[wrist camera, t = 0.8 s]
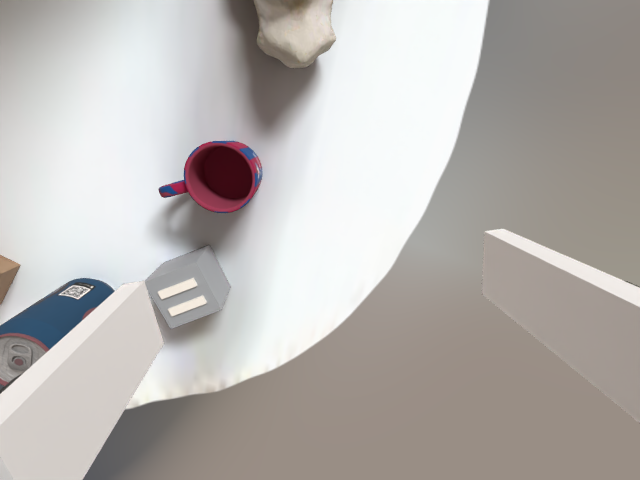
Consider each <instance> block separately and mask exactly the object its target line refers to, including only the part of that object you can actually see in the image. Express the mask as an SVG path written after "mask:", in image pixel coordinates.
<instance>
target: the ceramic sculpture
mask: <svg viewBox="0 0 640 480" xmlns="http://www.w3.org/2000/svg"><path fill="white" fill-rule="evenodd" d="M332 3H333V0H254V6H255V7H256V10H257V15H258V18H259V32H258V37H257V44H258V46H259V47H260V48H261V49H262V51H263V52H264V53H265V54H267V55H269V56H272V57H274V58H277V59H279V60H280V61H281V62H282V63H283V64H284V65H286V66H287V67H289V68H298V67H300V68H304V67H308V66H309V65H311V64H312V63H313V62H314V60H315V59H316V58H317V57H318V56H319V55H321V54H323V53H324V52H326V51H328V50H329V49H330V47H331V46H332V44H333V43H334V42H335V41H336V36H335V34H334V31H333V29H332V27H331V19H330V15H331V10H332Z"/></svg>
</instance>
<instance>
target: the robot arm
mask: <svg viewBox="0 0 640 480" xmlns="http://www.w3.org/2000/svg"><path fill="white" fill-rule="evenodd" d="M482 295H484V296H485V297H486V298H487V299H488V300H490V301H491V302H492V303H493V304H495V305H496V306H497V307H498V308H499V309H501V310H502V311H503V312H504V313H506V314H507V315H508V316H509V317H510V318H512V319H513V320H514V321H515V322H517V323H518V324H519V325H520V326H521V327H523V328H524V329H525V330H526V331H528V332H529V333H530V334H531V335H532V336H534V337H535V338H536V339H537V340H539V341H540V342H541V343H542V344H543V345H545V346H546V347H547V348H548V349H550V350H551V351H552V352H553V353H555V354H556V355H557V356H558V357H559V358H561V359H562V360H563V361H564V362H565V363H567V364H568V365H569V366H570V367H572V368H573V369H574V370H575V371H576V372H578V373H579V374H580V375H582V376H583V377H584V378H585V379H586V380H587V381H589V382H590V383H591V384H592V385H594V386H595V387H596V388H597V389H598V390H600V391H601V392H602V393H603V394H605V395H606V396H607V397H608V398H609V399H611V400H612V401H613V402H615V403H616V404H617V405H618V406H619V407H620V408H622V409H623V410H624V411H625V412H627V413H628V414H629V415H630V416H632V417H633V418H634V419H635V420H636V421H638V422H639V423H640V287H639V286H637V285H634V284H632V283H630V282H627V281H623V280H620V279H618V278H616V277H614V276H611V275H609V274H607V273H604V272H602V271H600V270H598V269H595V268H593V267H590V266H588V265H586V264H584V263H581V262H579V261H577V260H574V259H572V258H570V257H567V256H565V255H562V254H561V253H558V252H556V251H554V250H551V249H549V248H546V247H544V246H542V245H540V244H537V243H535V242H533V241H530V240H528V239H526V238H523V237H521V236H519V235H517V234H514V233H512V232H510V231H507V230H505V229H498V230H491V231H485V232H484V256H483V279H482ZM163 344H164V342H163V338H162V335H161V332H160V329H159V326H158V323H157V319H156V316H155V313H154V310H153V307H152V304H151V300H150V297H149V294H148V291H147V288H146V285H145V282H144V281H140V282H133V283H126V284H123V285H121V286H120V287H119V288H118V289H117V290H116V291H115V292H114V293H113V294H111V295H110V296H109V297H108V298H107V299H106V300H105V301H104V302H102V303H101V304H100V305H99V306H98V307H97V308H96V309H95V310H94V311H92V312H91V313H90V314H89V315H88V316H87V317H86V318H85V319H83V320H82V321H81V322H80V323H79V324H78V325H77V326H76V327H75V328H73V329H72V330H71V331H70V332H69V333H68V334H67V335H66V336H64V337H63V338H62V339H61V340H60V341H59V342H58V343H57V344H56V345H54V346H53V347H52V348H51V349H50V350H49V351H48V352H47V353H46V354H44V355H43V356H42V357H41V358H40V359H39V360H38V361H37V362H35V363H34V364H33V365H32V366H31V367H30V368H29V369H28V370H26V371H25V372H23V373H22V374H20V375H19V376H17V377H15V378H14V379H12V380H11V381H10V382H9V383H8V384H7V385H5V386H4V387H3V388H2V389H1V390H0V480H82V479H83V478H84V476H85V475H86V473H87V471H88V469H89V468H90V466H91V465H92V463H93V461H94V460H95V458H96V456H97V454H98V453H99V451H100V450H101V448H102V446H103V444H104V443H105V441H106V439H107V437H108V436H109V434H110V432H111V431H112V429H113V428H114V426H115V424H116V423H117V421H118V419H119V418H120V416H121V414H122V413H123V411H124V409H125V408H126V406H127V404H128V403H129V401H130V399H131V398H132V396H133V394H134V393H135V391H136V389H137V388H138V386H139V384H140V383H141V381H142V379H143V378H144V376H145V374H146V373H147V371H148V369H149V368H150V366H151V364H152V363H153V361H154V359H155V358H156V356H157V354H158V353H159V351H160V349H161V348H162V346H163Z"/></svg>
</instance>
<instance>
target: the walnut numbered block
mask: <svg viewBox="0 0 640 480" xmlns="http://www.w3.org/2000/svg"><path fill="white" fill-rule="evenodd" d="M19 267H20V264H18V263H16V262H14V261H12V260H10V259H8V258H6V257H3V256H1V255H0V304H1V303H2V301H3V299H4V297H5V295H6V293H7V291H8V289H9V287H10V285H11V283H12V281H13V279H14V277H15V275H16V273H17V271H18V269H19Z"/></svg>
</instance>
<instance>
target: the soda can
mask: <svg viewBox="0 0 640 480" xmlns="http://www.w3.org/2000/svg"><path fill="white" fill-rule="evenodd" d="M114 292H115V291H114V290H113V288H112V287H110V286H109V285H108V284H106V283H104V282H102V281H99V280H95V279H89V278H80V279H75V280H72V281H69V282H68V283H66V284H64V285H63V286H61V287H60V288H58V289H57V290H55V291H53V292H52V293H50V294H49V295H47V296H46V297H44V298H43V299H41V300H39V301H38V302H36V303H35V304H33V305H32V306H30V307H29V308H27V309H25V310H24V311H22V312H21V313H19V314H18V315H16V316H15V317H13V318H11V319H10V320H8V321H7V322H5V323H4V324H2V325H1V326H0V384H2V385H4V386H5V385H7V384H8V383H9V382H10V381H11V380H12V379H14V378H15V377H17V376H19V375H20V374H22V373H23V372H25V371H26V370H28V369H29V368H30V367H31V366H32V365H33V364H34V363H35V362H37V361H38V360H39V359H40V358H41V357H42V356H43V355H44V354H46V353H47V352H48V351H49V350H50V349H51V348H52V347H53V346H54V345H56V344H57V343H58V342H59V341H60V340H61V339H62V338H63V337H64V336H66V335H67V334H68V333H69V332H70V331H71V330H72V329H73V328H75V327H76V326H77V325H78V324H79V323H80V322H81V321H82V320H83V319H85V318H86V317H87V316H88V315H89V314H90V313H91V312H92V311H94V310H95V309H96V308H97V307H98V306H99V305H100V304H101V303H102V302H104V301H105V300H106V299H107V298H108V297H109V296H110V295H111V294H113V293H114Z"/></svg>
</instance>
